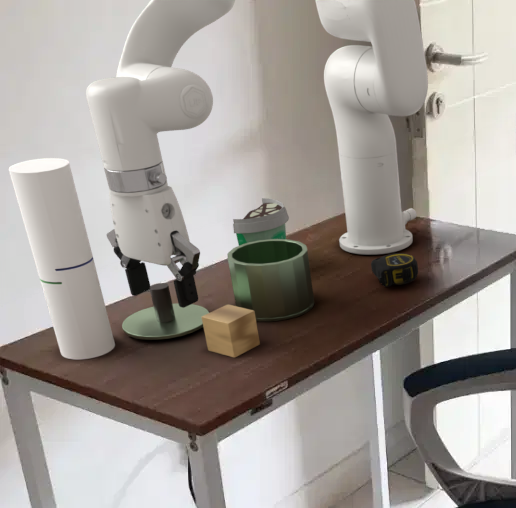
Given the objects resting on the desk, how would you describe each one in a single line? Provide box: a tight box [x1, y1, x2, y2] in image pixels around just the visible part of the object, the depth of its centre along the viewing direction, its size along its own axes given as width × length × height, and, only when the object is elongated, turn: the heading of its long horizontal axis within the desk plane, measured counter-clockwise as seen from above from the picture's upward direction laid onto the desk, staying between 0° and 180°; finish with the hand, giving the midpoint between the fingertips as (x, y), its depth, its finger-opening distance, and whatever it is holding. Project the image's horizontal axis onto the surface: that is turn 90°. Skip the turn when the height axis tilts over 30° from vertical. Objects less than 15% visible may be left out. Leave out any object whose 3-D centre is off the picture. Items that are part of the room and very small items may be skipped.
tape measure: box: [370, 252, 419, 288], centre depth 157 cm, size 7×7×4 cm
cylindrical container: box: [8, 157, 116, 360], centre depth 133 cm, size 7×7×25 cm
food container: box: [232, 197, 290, 246], centre depth 161 cm, size 12×6×10 cm, turn 168°
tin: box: [227, 238, 315, 323], centre depth 148 cm, size 11×11×8 cm
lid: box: [121, 282, 210, 341], centre depth 144 cm, size 12×12×6 cm
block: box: [202, 303, 261, 359], centre depth 137 cm, size 5×5×5 cm
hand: (164, 298), depth 143 cm, fingers open, 9 cm apart
